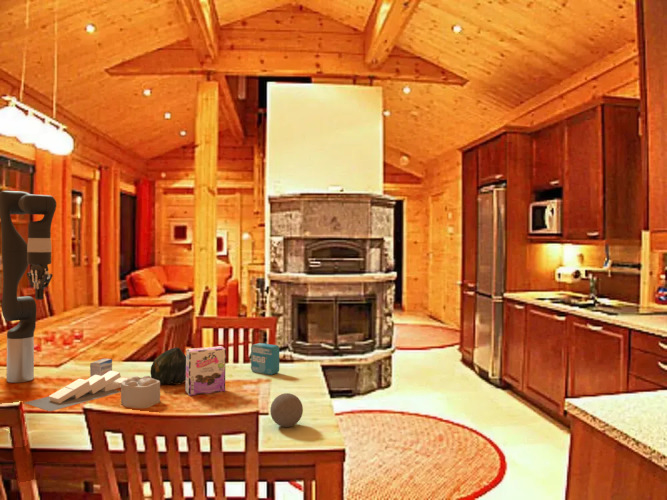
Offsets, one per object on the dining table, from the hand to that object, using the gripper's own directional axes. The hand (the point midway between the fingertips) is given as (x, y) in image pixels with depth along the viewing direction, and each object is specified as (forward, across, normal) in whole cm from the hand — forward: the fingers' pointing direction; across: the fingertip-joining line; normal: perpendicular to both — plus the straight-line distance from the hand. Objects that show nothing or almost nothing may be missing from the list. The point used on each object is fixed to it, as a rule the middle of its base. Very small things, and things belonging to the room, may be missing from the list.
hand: (39, 299), depth 188 cm
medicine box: (+35, -1, -24) cm, 43 cm away
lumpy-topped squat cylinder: (+35, -34, -16) cm, 52 cm away
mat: (+35, -12, -6) cm, 37 cm away
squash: (+35, -24, -39) cm, 58 cm away
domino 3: (+33, -12, -11) cm, 37 cm away
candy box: (+35, -44, -38) cm, 68 cm away
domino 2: (+34, -12, -5) cm, 36 cm away
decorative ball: (+35, -91, -26) cm, 101 cm away
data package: (+35, -44, -73) cm, 92 cm away
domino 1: (+34, -12, +2) cm, 36 cm away
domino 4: (+34, -12, -16) cm, 39 cm away
